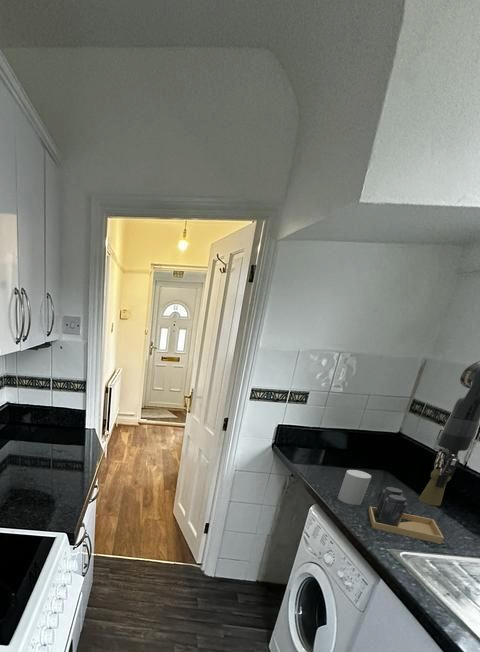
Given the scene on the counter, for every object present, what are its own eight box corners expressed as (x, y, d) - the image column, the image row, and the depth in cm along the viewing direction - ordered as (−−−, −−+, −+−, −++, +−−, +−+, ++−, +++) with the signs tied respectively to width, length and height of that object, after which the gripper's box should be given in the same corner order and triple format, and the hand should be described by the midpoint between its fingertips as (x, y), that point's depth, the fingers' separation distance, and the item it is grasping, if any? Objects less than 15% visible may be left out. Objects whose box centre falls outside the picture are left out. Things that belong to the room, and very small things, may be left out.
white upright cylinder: (365, 507, 157) (376, 478, 152) (346, 507, 155) (357, 478, 150) (350, 497, 164) (360, 469, 159) (332, 498, 162) (341, 469, 157)
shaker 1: (392, 516, 148) (403, 488, 144) (394, 523, 143) (406, 494, 139) (373, 512, 151) (383, 485, 146) (374, 519, 146) (385, 490, 141)
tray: (430, 525, 144) (433, 519, 143) (440, 544, 132) (444, 537, 131) (367, 512, 152) (369, 506, 151) (371, 529, 139) (373, 522, 138)
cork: (418, 496, 140) (431, 465, 135) (440, 501, 137) (454, 470, 132) (418, 501, 135) (432, 470, 130) (441, 507, 132) (455, 475, 127)
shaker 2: (395, 525, 142) (407, 496, 137) (398, 532, 137) (410, 502, 132) (375, 521, 144) (386, 492, 140) (377, 528, 139) (388, 498, 135)
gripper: (480, 440, 119) (457, 494, 126) (466, 430, 131) (445, 479, 138) (448, 435, 122) (427, 488, 129) (437, 426, 134) (418, 475, 141)
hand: (436, 483), depth 133 cm, fingers closed on cork, 5 cm apart
